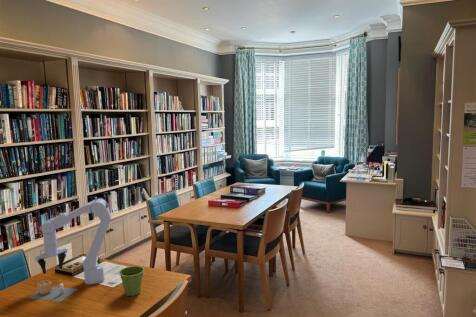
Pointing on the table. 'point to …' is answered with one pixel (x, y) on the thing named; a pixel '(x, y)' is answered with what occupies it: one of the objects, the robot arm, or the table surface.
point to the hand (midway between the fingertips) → (52, 270)
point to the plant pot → (132, 279)
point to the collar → (44, 287)
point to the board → (54, 293)
